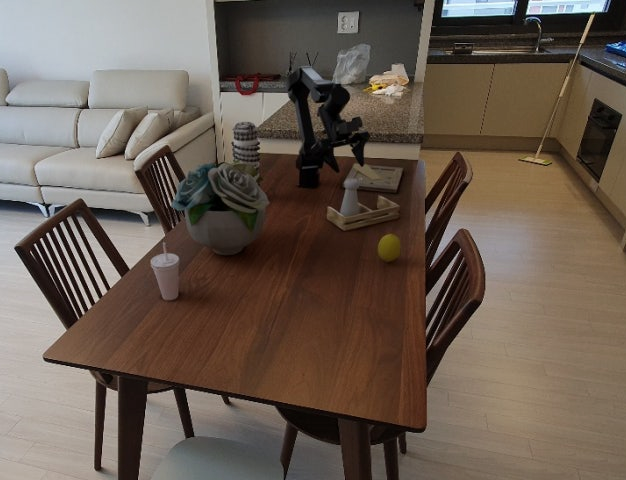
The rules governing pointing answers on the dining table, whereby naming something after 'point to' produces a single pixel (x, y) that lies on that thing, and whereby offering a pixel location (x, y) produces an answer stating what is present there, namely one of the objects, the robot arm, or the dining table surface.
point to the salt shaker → (350, 199)
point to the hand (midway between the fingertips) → (350, 169)
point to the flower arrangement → (222, 205)
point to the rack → (365, 215)
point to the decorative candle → (246, 145)
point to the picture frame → (376, 177)
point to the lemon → (389, 247)
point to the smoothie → (166, 273)
